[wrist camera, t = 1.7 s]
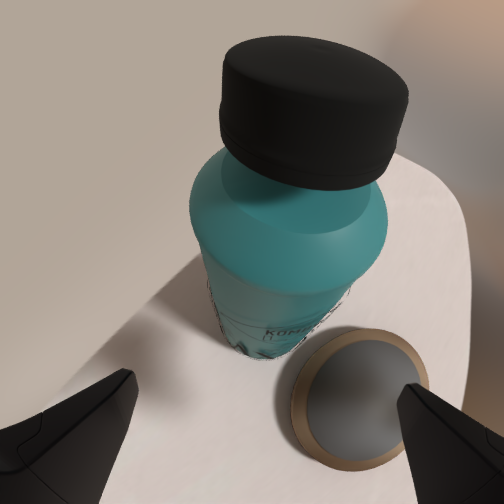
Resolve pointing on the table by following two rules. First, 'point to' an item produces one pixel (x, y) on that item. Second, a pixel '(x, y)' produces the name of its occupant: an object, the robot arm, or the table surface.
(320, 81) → the beverage bottle
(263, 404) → the table surface
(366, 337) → the walnut dock
